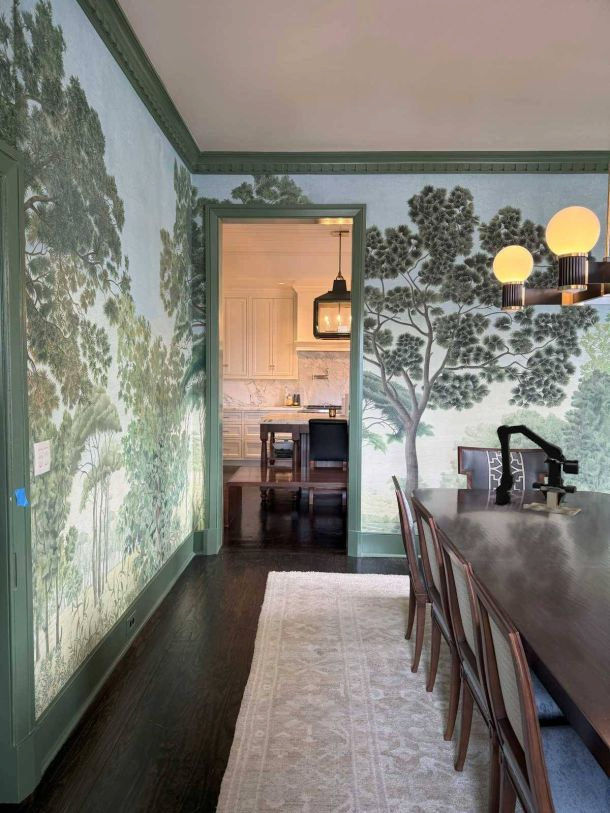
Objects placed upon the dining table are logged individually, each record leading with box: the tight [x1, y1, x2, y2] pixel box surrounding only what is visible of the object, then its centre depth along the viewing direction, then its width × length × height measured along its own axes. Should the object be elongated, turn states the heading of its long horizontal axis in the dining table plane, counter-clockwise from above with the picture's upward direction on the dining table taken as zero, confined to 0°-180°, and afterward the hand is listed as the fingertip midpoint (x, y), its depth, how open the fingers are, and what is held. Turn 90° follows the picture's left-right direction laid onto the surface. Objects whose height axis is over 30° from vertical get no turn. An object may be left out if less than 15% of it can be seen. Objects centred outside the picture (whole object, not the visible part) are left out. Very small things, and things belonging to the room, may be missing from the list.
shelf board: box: [523, 502, 582, 517], centre depth 260 cm, size 22×16×3 cm
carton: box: [546, 490, 561, 509], centre depth 261 cm, size 4×7×8 cm, turn 141°
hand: (553, 505), depth 261 cm, fingers closed on carton, 4 cm apart
